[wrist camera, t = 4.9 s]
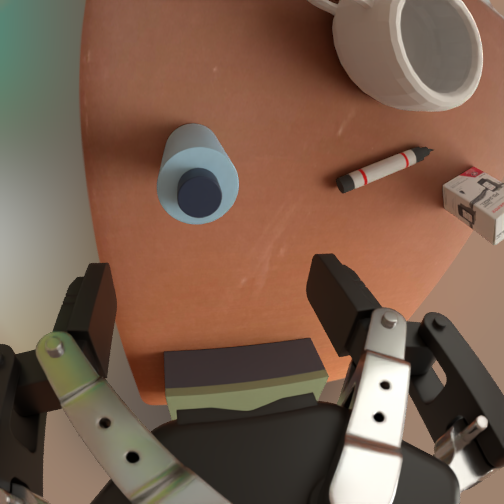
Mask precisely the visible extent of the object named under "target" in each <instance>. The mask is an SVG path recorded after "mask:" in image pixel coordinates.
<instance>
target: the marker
mask: <svg viewBox="0 0 504 504" xmlns="http://www.w3.org/2000/svg"><path fill="white" fill-rule="evenodd" d="M430 151H433V149H428V148H427V147H423V148H419V147H416V148H413V149H411V150H407V151H404V152H402V153H399V154H397V155H394V156H392V157H389V158H386V159H384V160H381V161H379V162H376V163H374V164H371V165H369V166H366V167H364V168H361V169H359V170H356V171H354V172H351V173H349V174H347V175H345V176H342V177H340V178H337V179H336V183H337V186H338V188H339V190H340V191H341V193H346V192H348V191H351V190H353V189H356V188H358V187H361V186H363V185H366V184H368V183H370V182H373V181H375V180H377V179H380V178H382V177H385V176H387V175H389V174H392V173H394V172H397V171H399V170H401V169H404V168H406V167H409V166H411V165H413V164H415V163H417V162H420V161H422V160H424V157H426V156H428V155H429V154H430Z"/></svg>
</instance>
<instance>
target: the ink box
mask: <svg viewBox="0 0 504 504" xmlns="http://www.w3.org/2000/svg"><path fill="white" fill-rule="evenodd" d="M443 200H444V208H445V209H446V210H447V211H448V212H450V213H451V214H453V215H454V216H456V217H457V218H458V219H460V220H461V221H463V222H464V223H465V224H467V225H468V226H469V227H471V228H472V229H473V230H475V231H476V232H477V233H479V234H480V235H481V236H482V237H484V238H485V239H486V240H487V241H489V242H490V243H491V244H493V245H497V244H498V243H499V242H500V241H502V240H503V239H504V183H502V182H501V181H499V180H497V179H495V178H494V177H492V176H490V175H488V174H487V173H485V172H483V171H481V170H479V169H477V168H475V167H472V168H470V169H469V170H467V171H465V172H464V173H462V174H460V175H459V176H457V177H455V178H454V179H452V180H450V181H449V182H447V183H445V184H444V185H443Z"/></svg>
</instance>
